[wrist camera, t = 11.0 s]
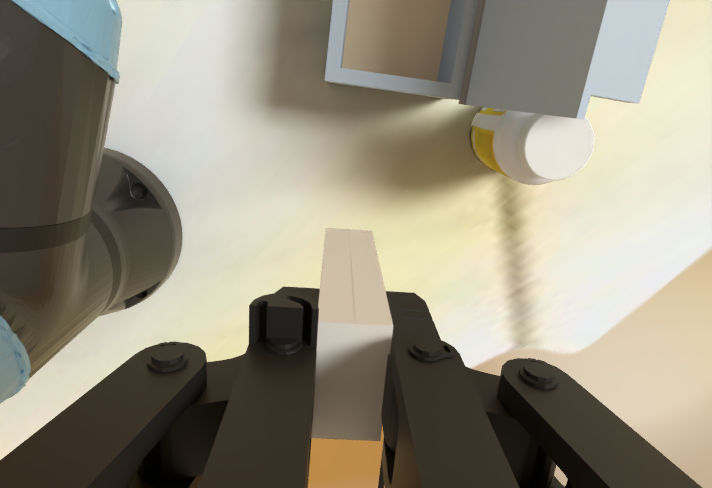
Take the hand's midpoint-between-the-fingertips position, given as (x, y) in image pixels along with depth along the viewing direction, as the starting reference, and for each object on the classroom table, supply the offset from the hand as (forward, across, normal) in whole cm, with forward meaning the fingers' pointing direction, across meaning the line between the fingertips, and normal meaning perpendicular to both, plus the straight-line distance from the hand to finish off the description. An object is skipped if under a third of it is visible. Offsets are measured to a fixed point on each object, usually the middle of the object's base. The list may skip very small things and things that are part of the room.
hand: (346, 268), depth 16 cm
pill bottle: (+28, +14, +3) cm, 32 cm away
